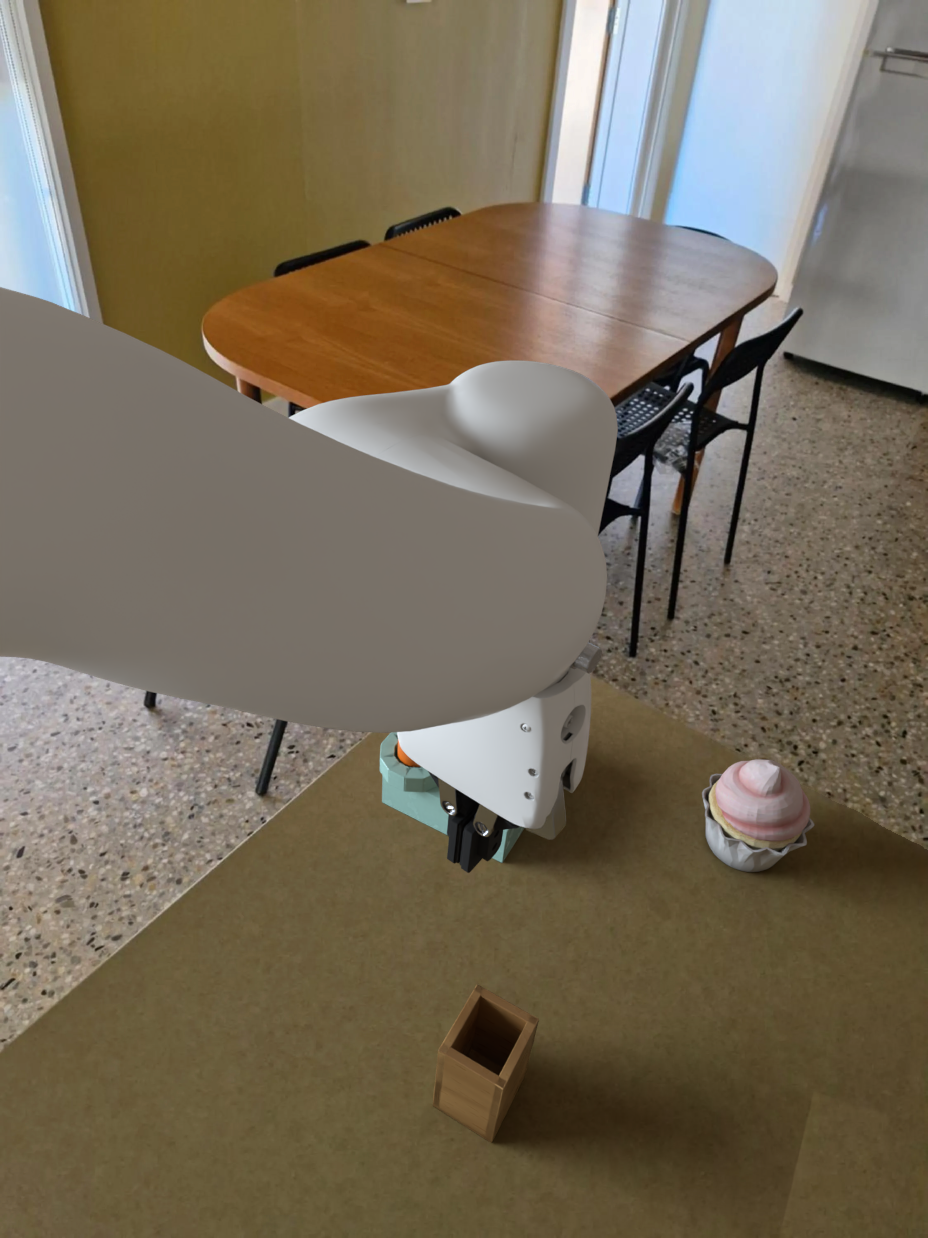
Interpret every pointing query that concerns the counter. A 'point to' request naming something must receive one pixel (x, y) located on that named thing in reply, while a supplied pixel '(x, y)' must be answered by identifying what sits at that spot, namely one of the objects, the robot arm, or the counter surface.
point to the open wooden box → (483, 1062)
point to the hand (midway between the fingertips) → (472, 851)
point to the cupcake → (755, 814)
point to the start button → (405, 758)
